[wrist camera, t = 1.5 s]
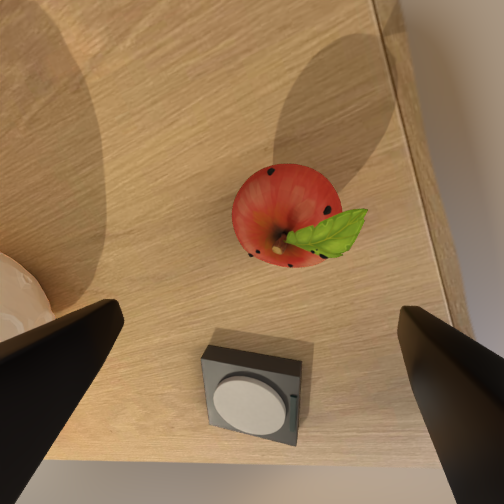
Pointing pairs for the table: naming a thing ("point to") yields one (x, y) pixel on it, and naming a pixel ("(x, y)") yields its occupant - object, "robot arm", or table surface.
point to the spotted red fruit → (293, 217)
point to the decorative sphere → (20, 300)
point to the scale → (252, 393)
